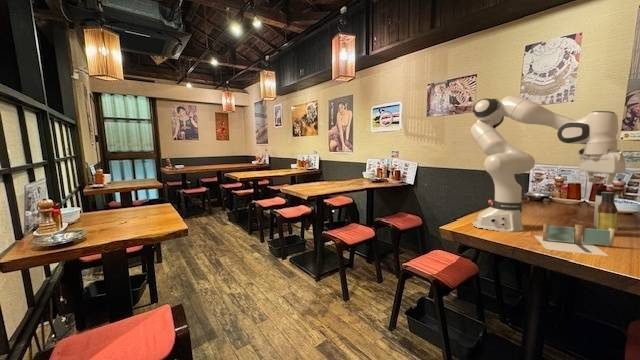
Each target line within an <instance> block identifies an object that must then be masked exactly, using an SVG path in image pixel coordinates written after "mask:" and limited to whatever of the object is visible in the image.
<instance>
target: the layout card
mask: <svg viewBox="0 0 640 360" xmlns="http://www.w3.org/2000/svg"><path fill="white" fill-rule="evenodd" d="M533 237H535V238H536V240H537V241H538V242H539V243H540V244H541V245H542V246H543V248H545V250H551V251H558V252H559V251H560V252H567V253H568V252H569V253H576V254H586V255H594V256H596V255H597V256H602V257H603V256H605V257H609V255H608V254H607V253H605V252H604V251H603V250H601V249H600V248H598V247H597V246H595V244H588V243H583V239H582V245H577V244H574V240H573V242H568V241H557V240H548V241H543V235H542V236H541V235H533Z"/></svg>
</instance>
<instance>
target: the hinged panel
mask: <svg viewBox="0 0 640 360" xmlns="http://www.w3.org/2000/svg"><path fill="white" fill-rule="evenodd" d="M614 231H615V229H613V228H609V230H601V229H595V228H587V227H586V228H585V227H583V236H582V240H583V243H588V244H593V245H597V246H598V245H601V246H611V247H613V246H614V241H615V236H614Z"/></svg>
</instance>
